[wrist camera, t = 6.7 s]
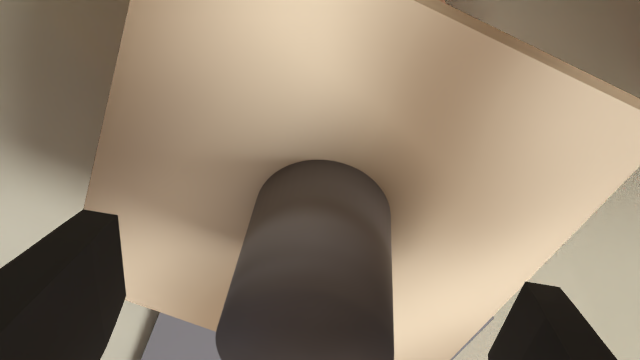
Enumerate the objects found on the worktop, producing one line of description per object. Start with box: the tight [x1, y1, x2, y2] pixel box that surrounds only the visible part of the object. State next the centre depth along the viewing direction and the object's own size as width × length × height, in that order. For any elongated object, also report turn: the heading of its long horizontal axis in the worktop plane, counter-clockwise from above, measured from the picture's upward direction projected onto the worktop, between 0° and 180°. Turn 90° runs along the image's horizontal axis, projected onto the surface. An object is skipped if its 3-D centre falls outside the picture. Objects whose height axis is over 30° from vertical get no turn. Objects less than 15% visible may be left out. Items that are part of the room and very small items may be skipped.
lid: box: [84, 0, 640, 360], centre depth 11 cm, size 10×10×4 cm
